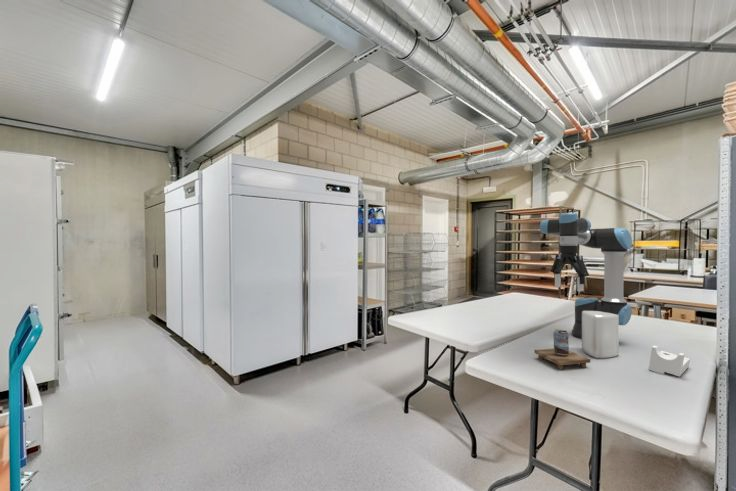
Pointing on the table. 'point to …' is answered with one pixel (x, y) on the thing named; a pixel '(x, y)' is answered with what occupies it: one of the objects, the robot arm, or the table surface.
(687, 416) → the table surface
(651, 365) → the white pipe support bracket
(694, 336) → the table surface
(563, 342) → the beverage can
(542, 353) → the wooden serving board
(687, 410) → the table surface
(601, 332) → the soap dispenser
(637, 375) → the table surface
